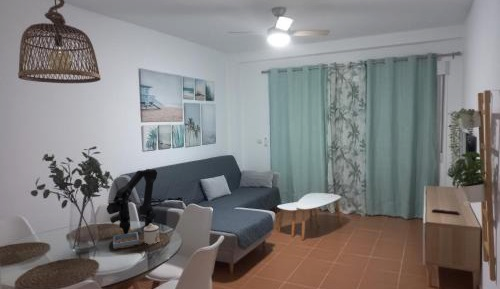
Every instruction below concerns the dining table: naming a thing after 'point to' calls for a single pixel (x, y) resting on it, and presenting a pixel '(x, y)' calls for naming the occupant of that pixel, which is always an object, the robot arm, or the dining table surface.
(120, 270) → the dining table surface
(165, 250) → the dining table surface
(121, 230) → the small crate
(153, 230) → the teacup with lid
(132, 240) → the big crate
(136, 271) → the dining table surface
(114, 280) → the dining table surface
